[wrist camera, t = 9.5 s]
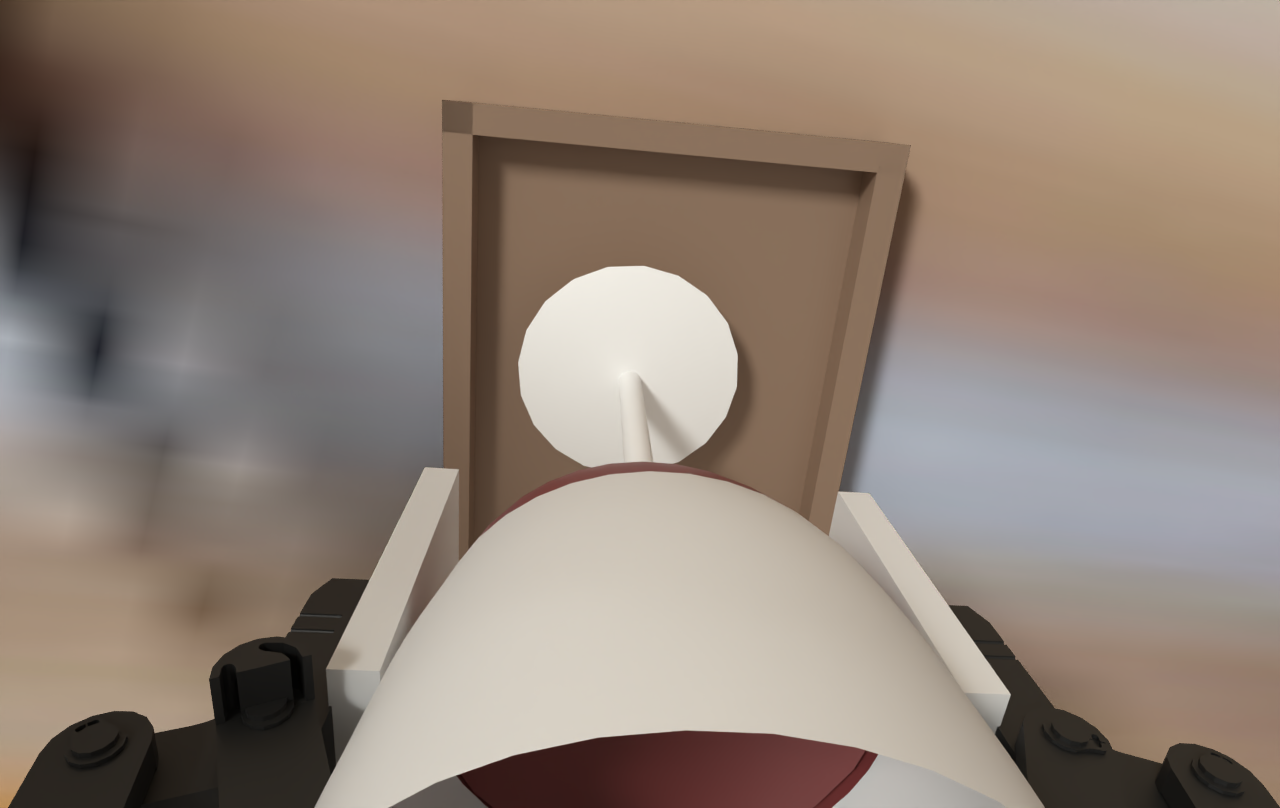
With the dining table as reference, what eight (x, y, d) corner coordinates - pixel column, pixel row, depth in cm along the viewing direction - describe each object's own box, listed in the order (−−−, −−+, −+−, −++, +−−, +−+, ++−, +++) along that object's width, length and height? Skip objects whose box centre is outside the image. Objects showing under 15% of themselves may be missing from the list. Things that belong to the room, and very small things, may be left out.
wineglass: (615, 197, 26) (674, 526, 5) (798, 375, 29) (1300, 1042, 8) (454, 374, 28) (54, 1100, 7) (640, 524, 31) (722, 1358, 10)
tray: (454, 100, 27) (442, 99, 25) (888, 142, 28) (910, 145, 26) (453, 612, 35) (444, 643, 33) (792, 627, 36) (803, 658, 34)
